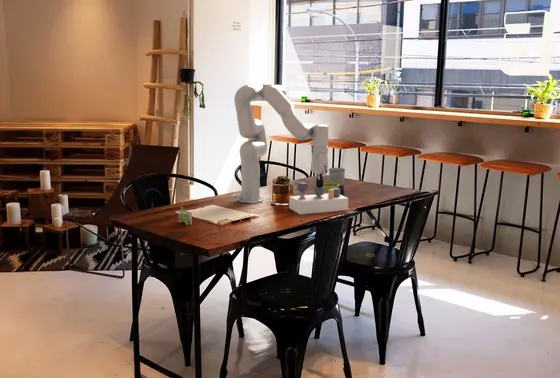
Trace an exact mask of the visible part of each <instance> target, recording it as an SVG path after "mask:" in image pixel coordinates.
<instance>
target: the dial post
mask: <svg viewBox="0 0 560 378" xmlns="http://www.w3.org/2000/svg"><path fill="white" fill-rule="evenodd" d="M328 199H334V189H328Z"/></svg>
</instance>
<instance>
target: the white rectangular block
mask: <svg viewBox="0 0 560 378" xmlns="http://www.w3.org/2000/svg"><path fill="white" fill-rule="evenodd" d="M288 201H289V206H288V208H289V209H290V210H292V211H294V212H295V213H296V214H299V215H308V214H317V213H329V212H340V211H348V210H349V198H348V197H347V196H345V195H344V196H342V195H340V196H339V197H334V199H328V194H324V195H321V198H317V195H314V194H305V198H304V199H303V200H300V195H292V196H289V200H288Z"/></svg>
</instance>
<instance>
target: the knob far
mask: <svg viewBox="0 0 560 378" xmlns="http://www.w3.org/2000/svg"><path fill="white" fill-rule="evenodd" d="M330 189H334V197H339V196H340V188H330Z"/></svg>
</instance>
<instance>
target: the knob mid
mask: <svg viewBox="0 0 560 378" xmlns="http://www.w3.org/2000/svg"><path fill="white" fill-rule="evenodd" d="M313 195H317V198H321V195H324V187H319V188H318V187H316V186H314V187H313Z"/></svg>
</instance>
